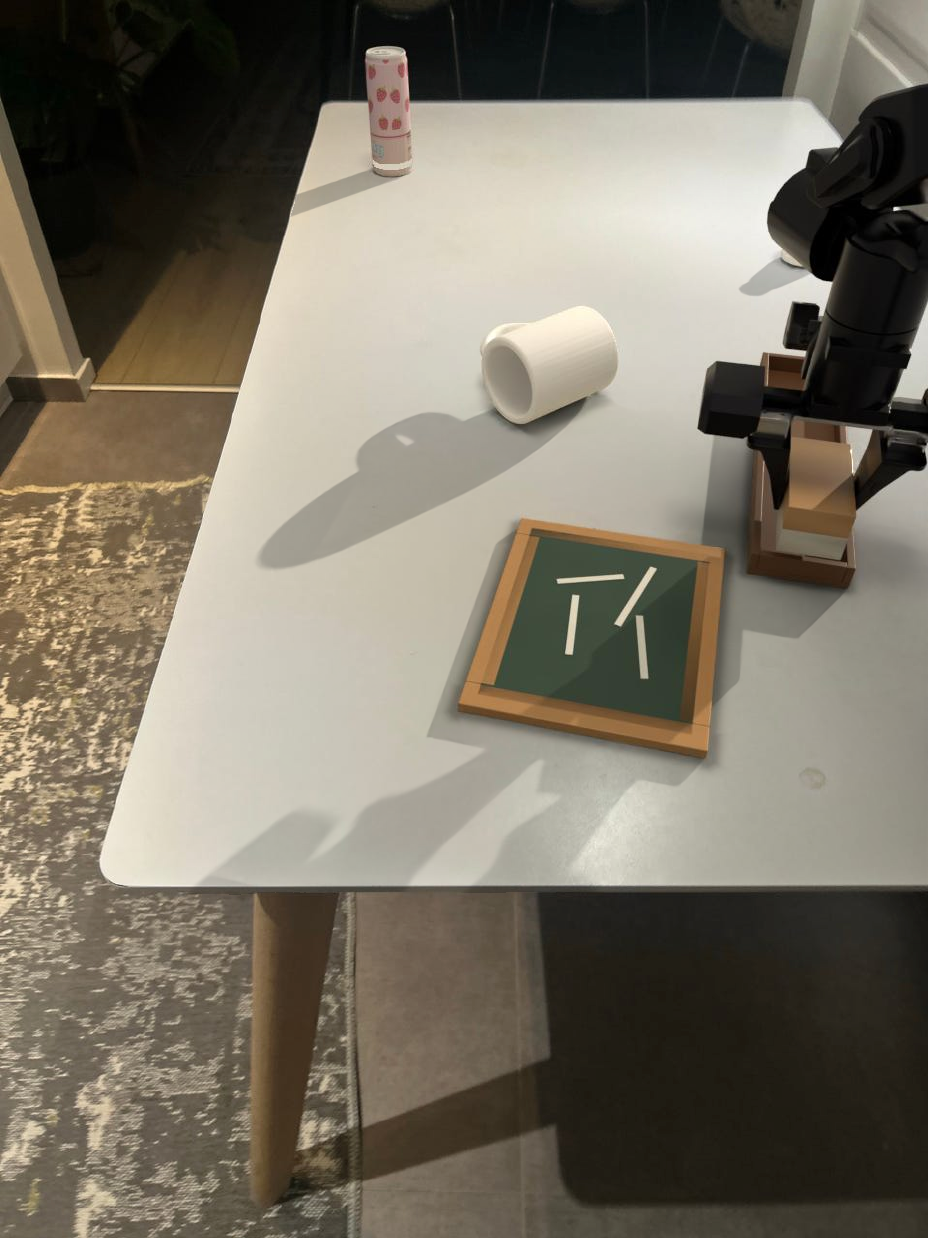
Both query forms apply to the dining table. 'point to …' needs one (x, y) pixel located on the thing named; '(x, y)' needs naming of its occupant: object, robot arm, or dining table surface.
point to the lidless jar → (789, 258)
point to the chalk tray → (762, 514)
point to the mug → (548, 363)
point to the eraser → (817, 499)
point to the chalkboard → (602, 637)
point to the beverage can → (389, 108)
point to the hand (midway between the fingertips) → (809, 511)
